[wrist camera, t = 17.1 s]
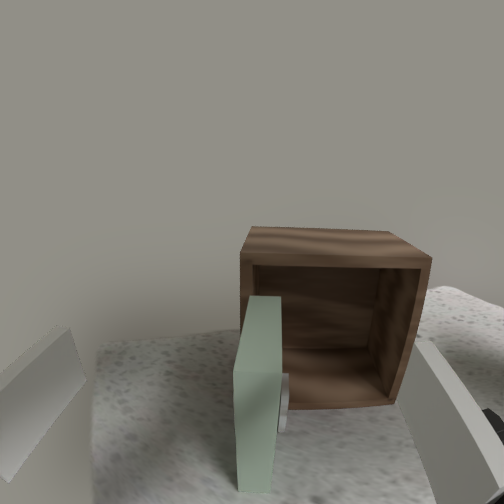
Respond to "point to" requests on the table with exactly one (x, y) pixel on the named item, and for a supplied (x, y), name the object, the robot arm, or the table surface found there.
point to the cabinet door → (258, 393)
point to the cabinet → (337, 311)
